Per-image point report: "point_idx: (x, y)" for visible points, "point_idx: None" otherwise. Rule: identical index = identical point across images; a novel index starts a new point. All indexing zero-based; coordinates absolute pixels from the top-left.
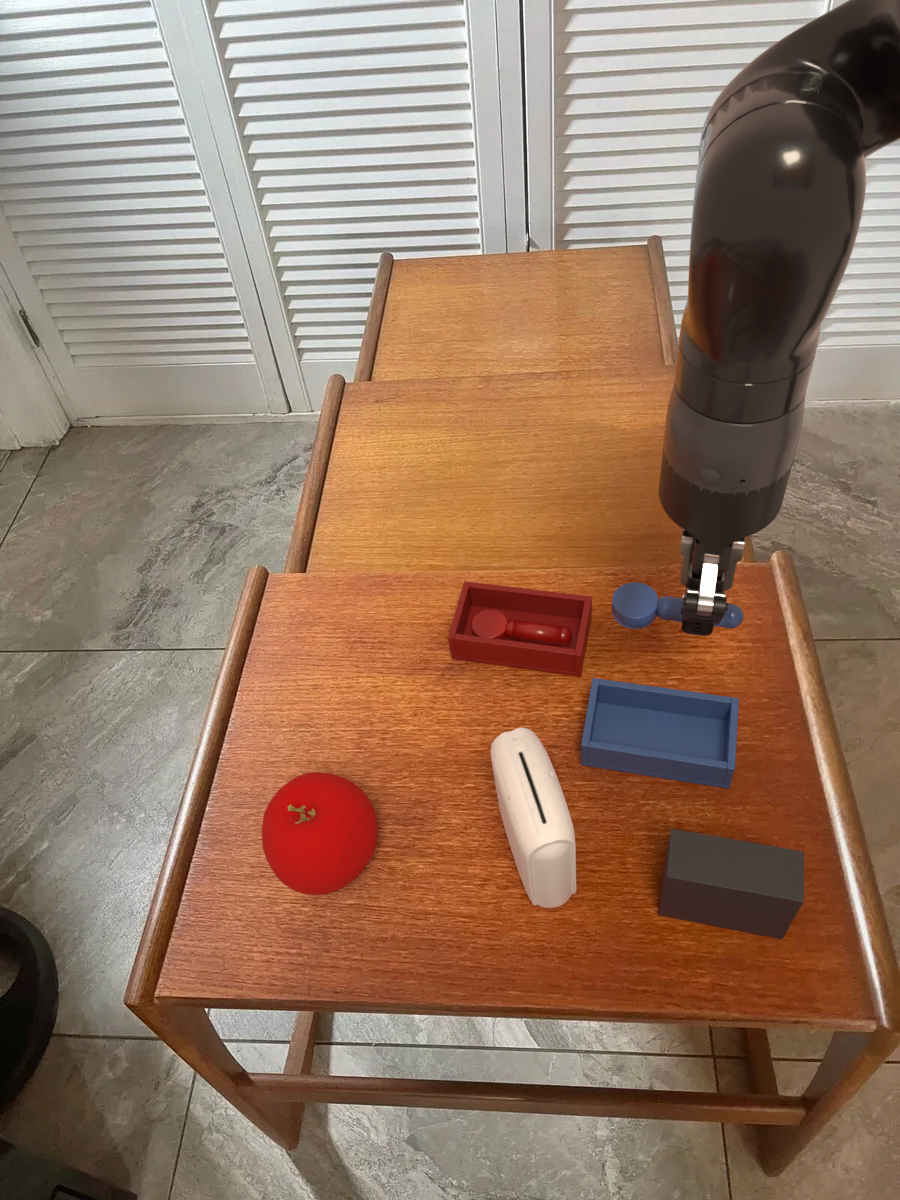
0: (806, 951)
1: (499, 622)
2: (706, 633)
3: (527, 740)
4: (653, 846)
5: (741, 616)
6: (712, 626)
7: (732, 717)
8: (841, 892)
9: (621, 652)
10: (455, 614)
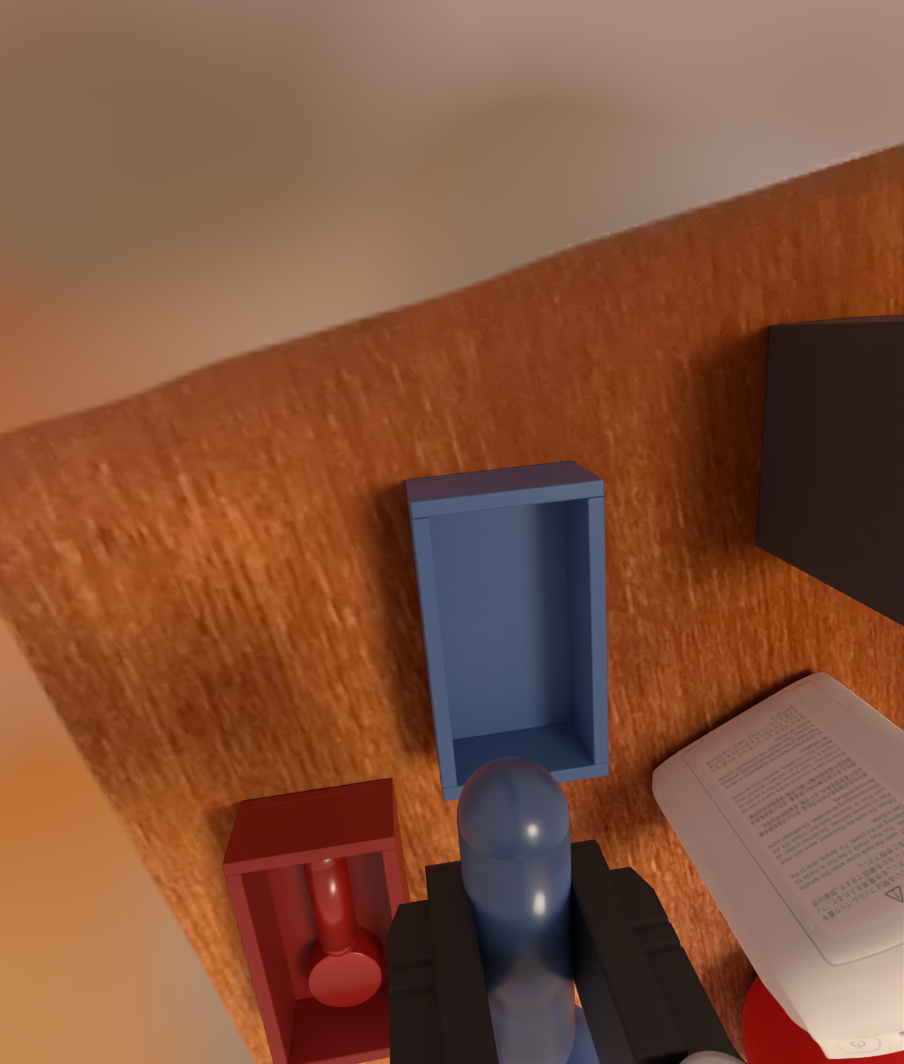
0: (872, 268)
1: (336, 966)
2: (654, 895)
3: (865, 1028)
4: (713, 570)
5: (532, 796)
6: (614, 885)
7: (468, 508)
8: (754, 207)
9: (306, 726)
10: (366, 1060)
